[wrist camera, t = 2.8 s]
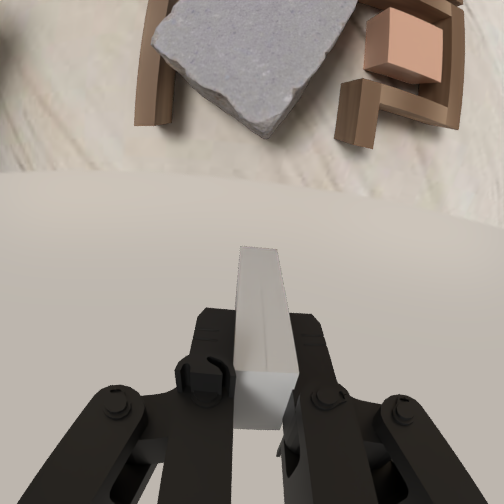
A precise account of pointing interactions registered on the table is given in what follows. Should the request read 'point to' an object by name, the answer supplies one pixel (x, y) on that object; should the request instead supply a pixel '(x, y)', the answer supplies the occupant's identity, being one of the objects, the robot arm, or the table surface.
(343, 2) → the decorative stone
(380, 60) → the cube
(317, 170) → the table surface
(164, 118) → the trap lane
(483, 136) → the table surface
